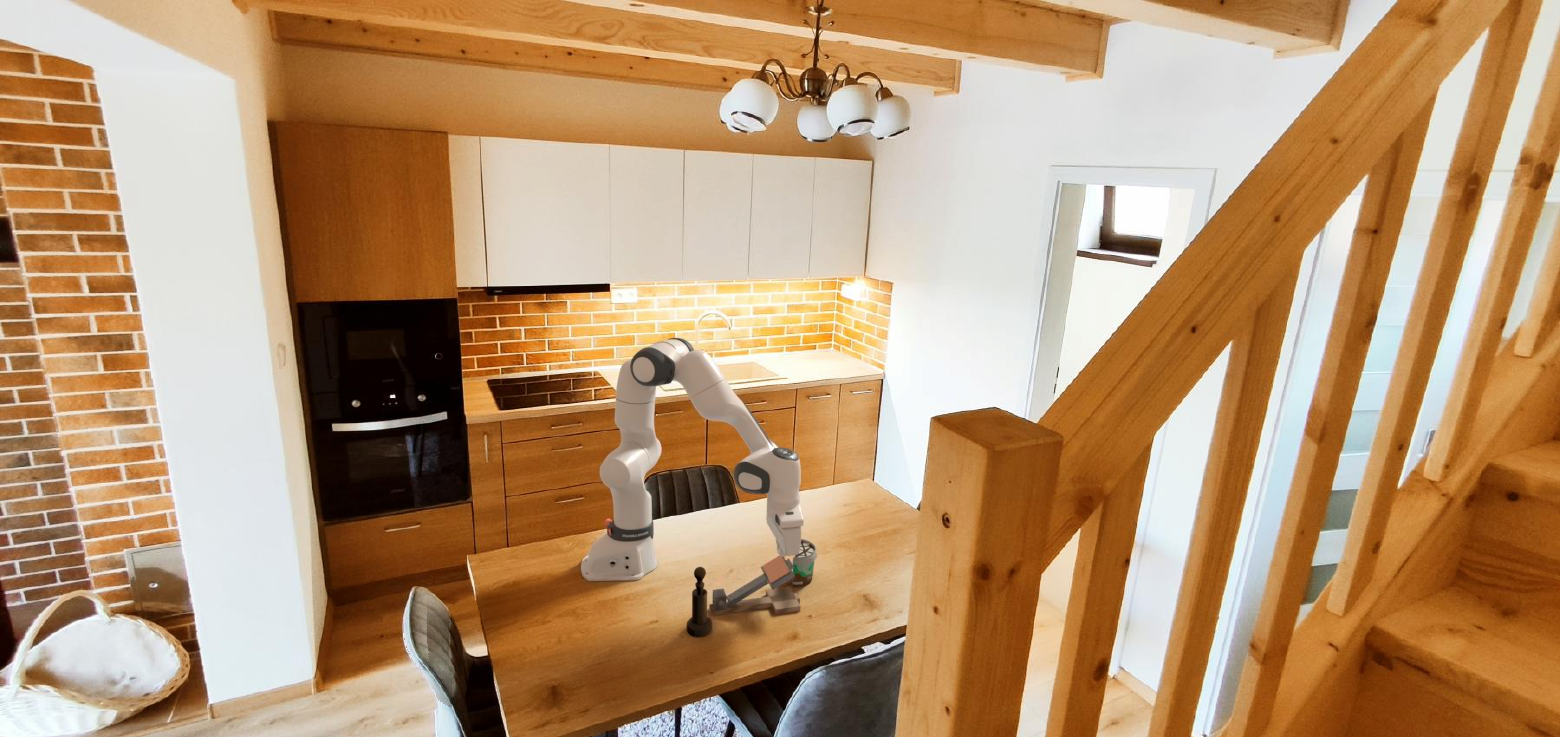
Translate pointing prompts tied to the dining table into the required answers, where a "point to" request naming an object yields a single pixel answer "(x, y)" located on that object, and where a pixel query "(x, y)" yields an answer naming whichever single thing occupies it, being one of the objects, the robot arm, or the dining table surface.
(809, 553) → the food container
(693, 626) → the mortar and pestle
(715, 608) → the walnut jaw
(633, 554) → the robot arm
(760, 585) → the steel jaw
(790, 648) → the dining table surface
